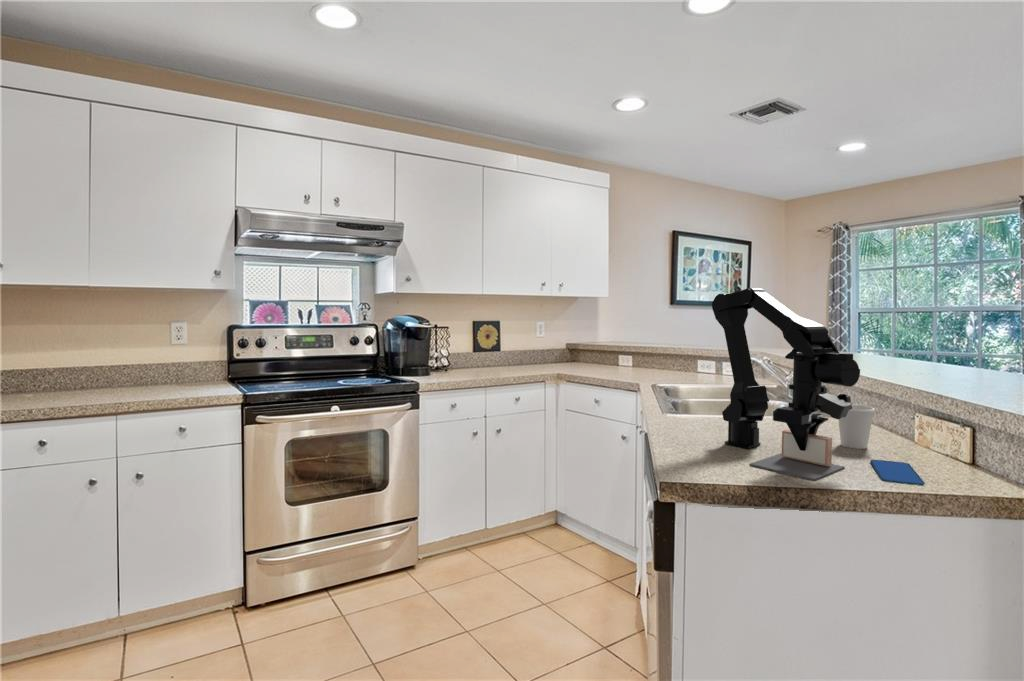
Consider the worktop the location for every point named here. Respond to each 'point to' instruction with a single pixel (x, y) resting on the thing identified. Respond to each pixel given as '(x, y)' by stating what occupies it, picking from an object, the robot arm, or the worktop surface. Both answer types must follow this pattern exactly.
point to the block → (808, 449)
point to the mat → (796, 467)
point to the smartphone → (896, 472)
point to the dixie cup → (856, 427)
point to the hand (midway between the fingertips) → (805, 449)
